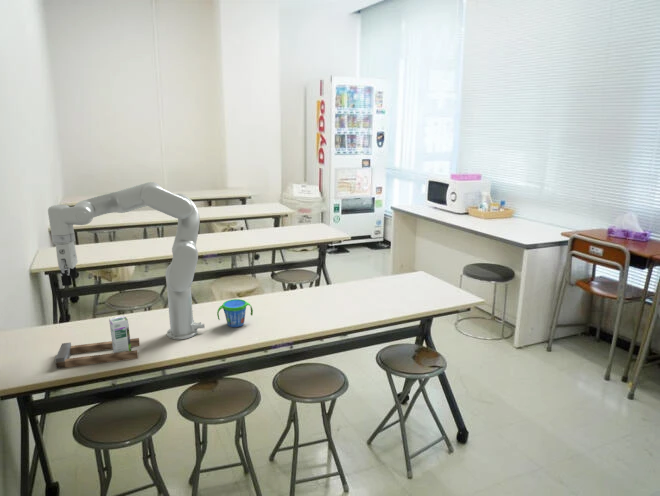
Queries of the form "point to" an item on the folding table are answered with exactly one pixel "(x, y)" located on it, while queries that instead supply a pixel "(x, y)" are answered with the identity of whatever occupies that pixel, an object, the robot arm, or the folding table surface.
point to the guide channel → (66, 350)
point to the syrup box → (120, 334)
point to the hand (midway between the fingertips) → (69, 281)
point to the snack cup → (235, 312)
